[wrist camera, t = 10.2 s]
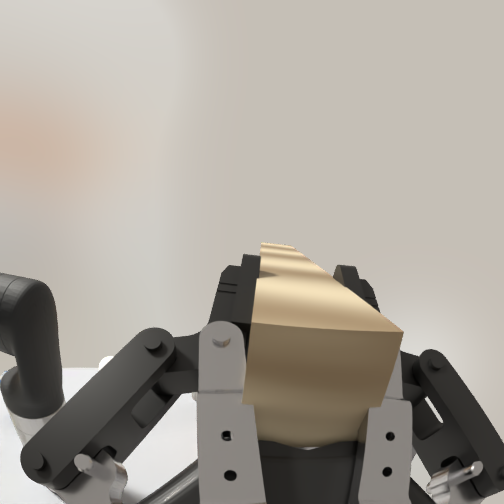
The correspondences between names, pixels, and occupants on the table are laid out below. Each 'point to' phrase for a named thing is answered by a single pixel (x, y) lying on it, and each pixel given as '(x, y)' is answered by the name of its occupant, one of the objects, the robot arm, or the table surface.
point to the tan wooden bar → (313, 353)
